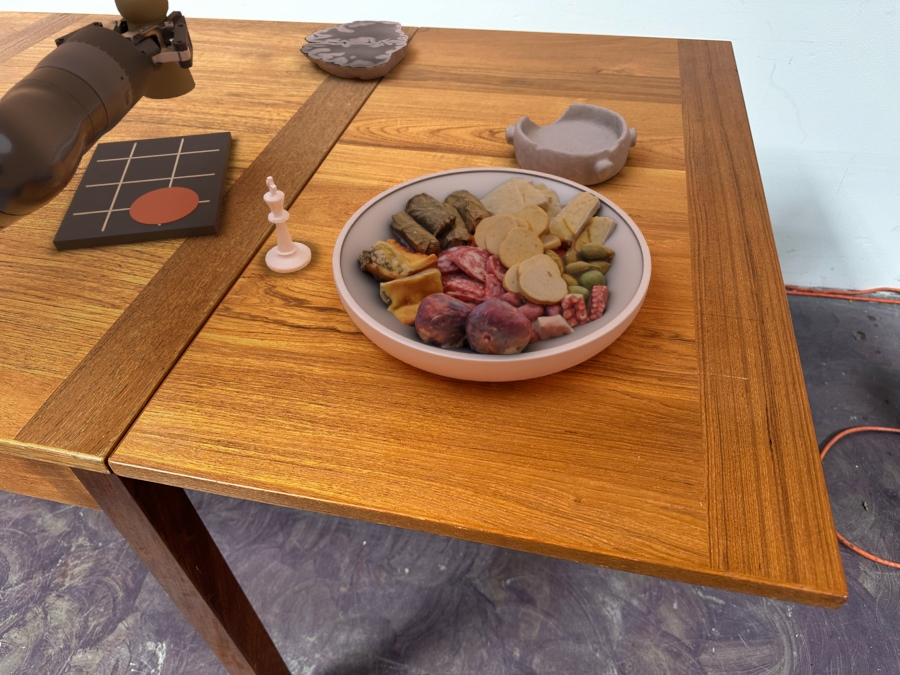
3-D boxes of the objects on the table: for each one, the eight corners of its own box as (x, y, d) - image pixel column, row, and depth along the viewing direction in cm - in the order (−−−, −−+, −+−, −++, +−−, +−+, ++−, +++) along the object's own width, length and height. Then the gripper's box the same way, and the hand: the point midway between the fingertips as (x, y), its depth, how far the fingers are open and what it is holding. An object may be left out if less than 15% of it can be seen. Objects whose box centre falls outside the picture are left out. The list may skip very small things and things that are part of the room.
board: (58, 252, 72) (51, 240, 71) (102, 153, 88) (97, 142, 87) (217, 236, 74) (213, 224, 73) (233, 141, 89) (230, 130, 88)
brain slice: (316, 38, 116) (313, 20, 113) (413, 38, 115) (412, 20, 113) (292, 86, 102) (289, 67, 99) (403, 86, 101) (401, 67, 99)
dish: (491, 163, 84) (493, 126, 80) (560, 125, 91) (563, 90, 87) (585, 207, 77) (590, 168, 73) (651, 162, 83) (659, 125, 80)
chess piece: (276, 281, 68) (254, 197, 61) (258, 257, 71) (235, 174, 64) (320, 264, 70) (304, 181, 63) (301, 241, 73) (283, 159, 66)
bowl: (349, 209, 77) (341, 147, 72) (606, 199, 78) (616, 137, 72) (325, 408, 56) (310, 342, 50) (680, 393, 56) (703, 326, 51)
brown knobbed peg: (194, 74, 79) (166, -28, 71) (196, 94, 75) (167, -11, 67) (140, 81, 77) (106, -22, 70) (140, 102, 73) (103, -5, 66)
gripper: (151, 44, 58) (214, -17, 71) (-4, 41, 59) (84, -18, 71) (176, 124, 63) (230, 55, 76) (33, 121, 64) (110, 53, 77)
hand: (159, 20), depth 73 cm, fingers closed on brown knobbed peg, 4 cm apart
